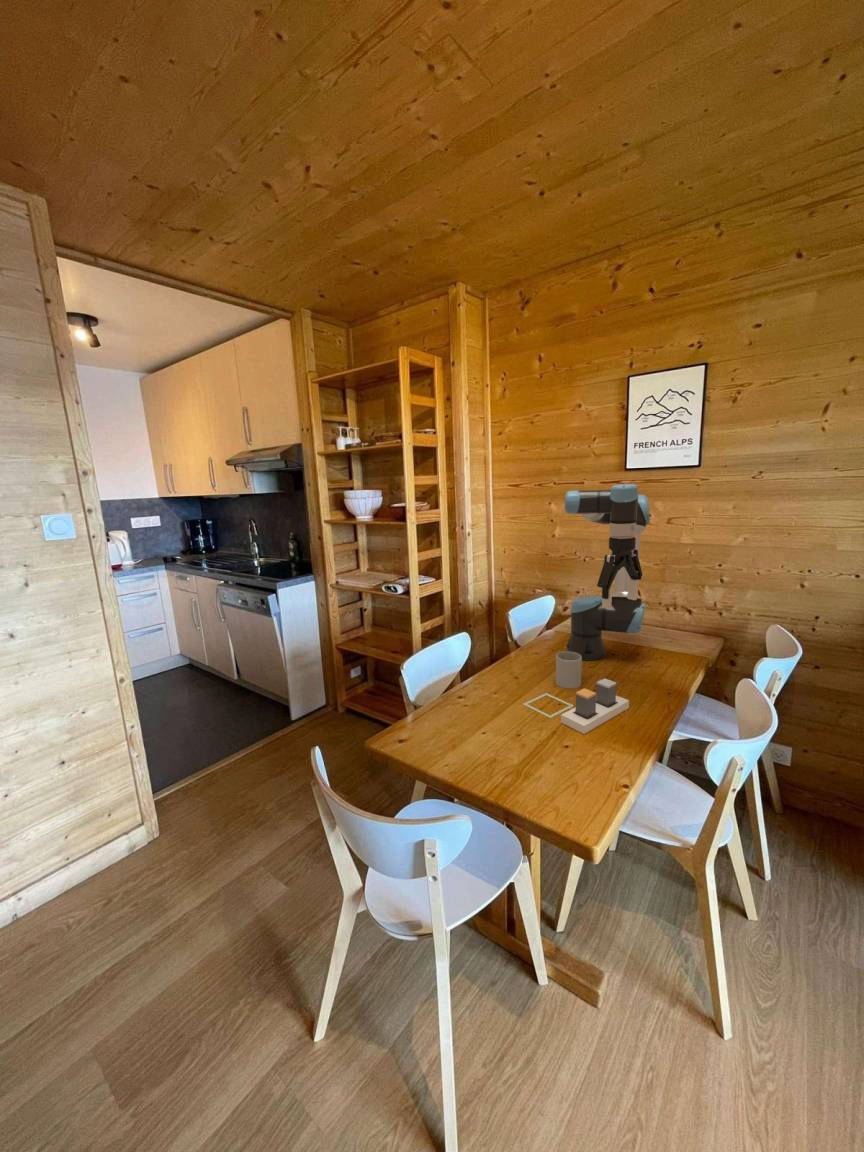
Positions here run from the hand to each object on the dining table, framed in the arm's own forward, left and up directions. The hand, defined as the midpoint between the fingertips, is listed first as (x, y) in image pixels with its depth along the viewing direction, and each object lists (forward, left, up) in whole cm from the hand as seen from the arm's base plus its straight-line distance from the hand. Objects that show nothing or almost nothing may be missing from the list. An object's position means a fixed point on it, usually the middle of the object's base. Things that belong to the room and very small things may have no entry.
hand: (619, 603), depth 143 cm
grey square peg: (+4, -12, -30) cm, 33 cm away
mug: (-15, -4, -32) cm, 35 cm away
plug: (+4, -22, -30) cm, 38 cm away
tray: (-9, -23, -31) cm, 40 cm away
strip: (+4, -17, -31) cm, 36 cm away
